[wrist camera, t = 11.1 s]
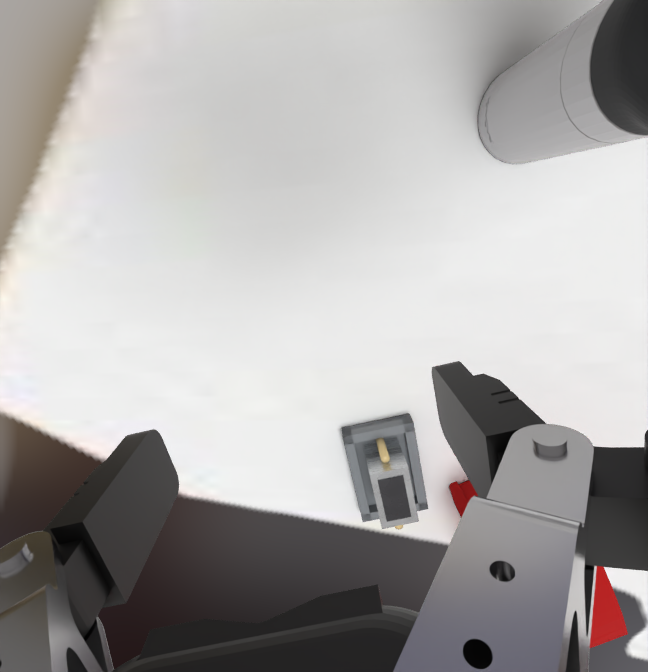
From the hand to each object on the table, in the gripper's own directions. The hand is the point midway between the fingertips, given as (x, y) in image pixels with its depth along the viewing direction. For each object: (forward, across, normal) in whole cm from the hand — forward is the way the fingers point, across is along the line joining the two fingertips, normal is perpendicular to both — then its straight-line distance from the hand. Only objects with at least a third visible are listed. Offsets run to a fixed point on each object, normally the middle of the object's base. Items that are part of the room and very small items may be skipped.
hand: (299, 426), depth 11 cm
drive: (+34, -3, +28) cm, 44 cm away
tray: (+35, -3, +28) cm, 45 cm away
